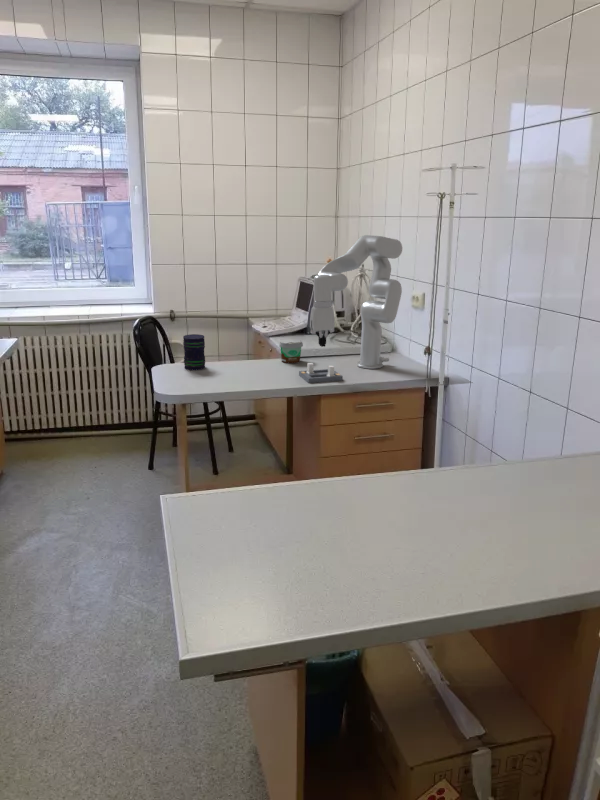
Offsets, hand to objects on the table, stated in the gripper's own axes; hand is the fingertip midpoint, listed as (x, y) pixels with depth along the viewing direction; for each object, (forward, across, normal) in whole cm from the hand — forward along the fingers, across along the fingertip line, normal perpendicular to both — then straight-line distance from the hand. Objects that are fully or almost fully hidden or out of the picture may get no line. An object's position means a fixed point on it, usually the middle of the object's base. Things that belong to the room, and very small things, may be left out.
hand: (322, 345), depth 271 cm
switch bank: (+15, 0, -3) cm, 16 cm away
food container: (+16, +3, -33) cm, 37 cm away
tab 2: (+14, -4, +1) cm, 15 cm away
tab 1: (+14, +3, -6) cm, 16 cm away
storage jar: (+14, +51, -35) cm, 63 cm away
